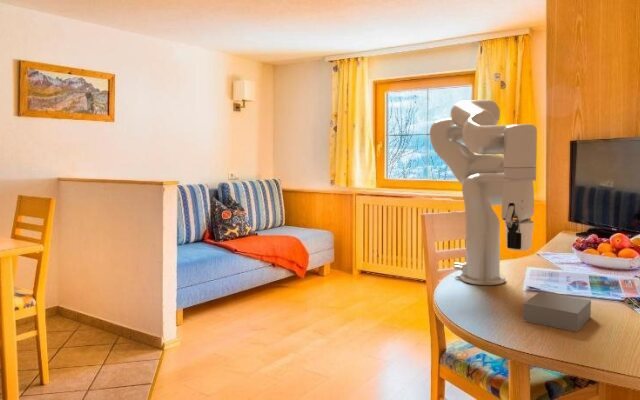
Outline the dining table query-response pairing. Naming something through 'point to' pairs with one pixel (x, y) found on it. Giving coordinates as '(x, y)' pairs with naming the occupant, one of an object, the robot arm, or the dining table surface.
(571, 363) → the dining table surface
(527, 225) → the white cup
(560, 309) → the slate plinth
